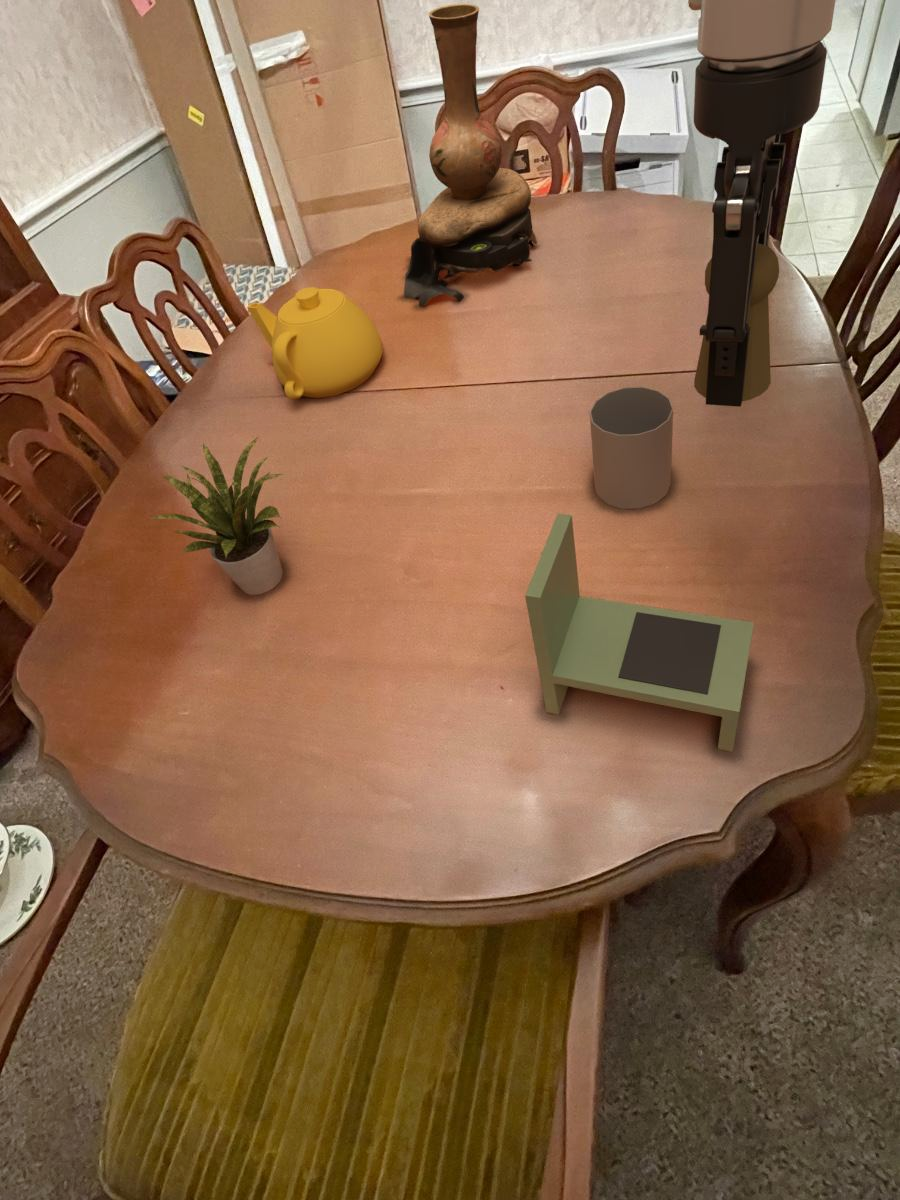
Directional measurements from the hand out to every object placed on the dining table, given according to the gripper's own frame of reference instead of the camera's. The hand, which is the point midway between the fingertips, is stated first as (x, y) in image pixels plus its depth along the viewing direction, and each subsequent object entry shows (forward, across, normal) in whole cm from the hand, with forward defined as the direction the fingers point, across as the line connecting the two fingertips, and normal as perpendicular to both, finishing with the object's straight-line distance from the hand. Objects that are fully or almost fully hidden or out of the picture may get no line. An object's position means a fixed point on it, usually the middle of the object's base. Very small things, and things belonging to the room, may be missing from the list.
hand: (730, 378), depth 63 cm
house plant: (+20, +14, -47) cm, 53 cm away
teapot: (+19, -24, -62) cm, 69 cm away
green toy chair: (+20, +19, -3) cm, 27 cm away
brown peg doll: (0, 0, 0) cm, 1 cm away
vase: (+19, -58, -50) cm, 79 cm away
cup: (+20, -8, -10) cm, 24 cm away
